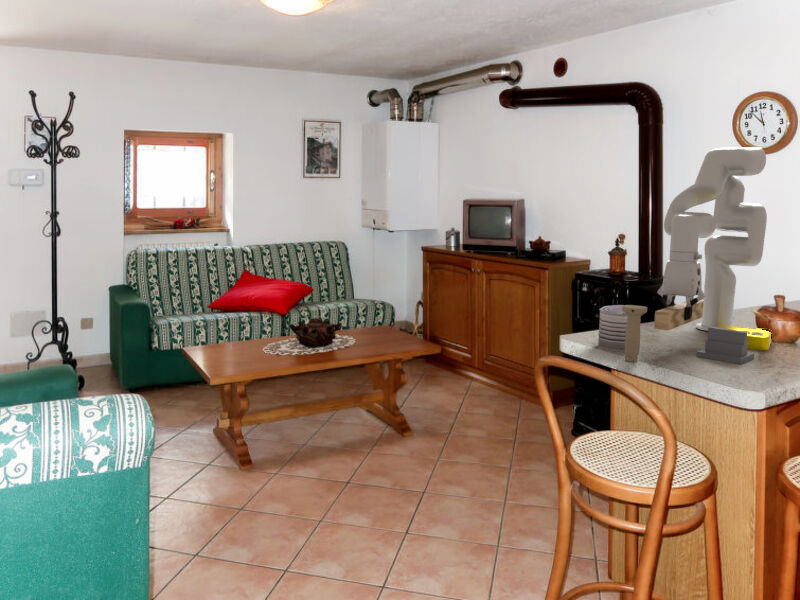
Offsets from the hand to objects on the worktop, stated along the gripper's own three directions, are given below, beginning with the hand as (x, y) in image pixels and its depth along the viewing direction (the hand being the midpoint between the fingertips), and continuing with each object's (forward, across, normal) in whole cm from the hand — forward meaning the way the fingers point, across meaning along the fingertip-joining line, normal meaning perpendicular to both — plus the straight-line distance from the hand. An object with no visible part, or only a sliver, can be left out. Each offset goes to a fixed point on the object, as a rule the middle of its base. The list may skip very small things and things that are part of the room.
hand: (679, 317), depth 212 cm
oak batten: (+1, 0, 0) cm, 1 cm away
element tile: (+10, -11, -21) cm, 26 cm away
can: (+9, +12, +14) cm, 20 cm away
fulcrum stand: (+9, -15, +3) cm, 18 cm away
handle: (+8, +1, +27) cm, 28 cm away
